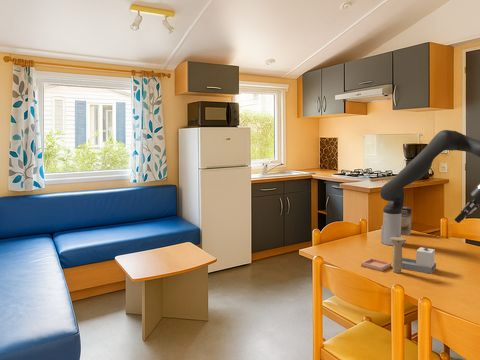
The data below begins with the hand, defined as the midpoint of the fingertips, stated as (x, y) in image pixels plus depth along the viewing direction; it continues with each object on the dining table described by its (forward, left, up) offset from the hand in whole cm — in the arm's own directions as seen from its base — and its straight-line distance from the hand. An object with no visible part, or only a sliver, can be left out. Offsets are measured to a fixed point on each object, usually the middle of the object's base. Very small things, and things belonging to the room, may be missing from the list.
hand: (458, 220), depth 165 cm
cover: (-11, -5, -21) cm, 24 cm away
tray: (-28, -16, -23) cm, 40 cm away
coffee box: (-45, +49, -23) cm, 71 cm away
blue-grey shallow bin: (-15, -6, -23) cm, 28 cm away
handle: (-18, -17, -23) cm, 34 cm away
